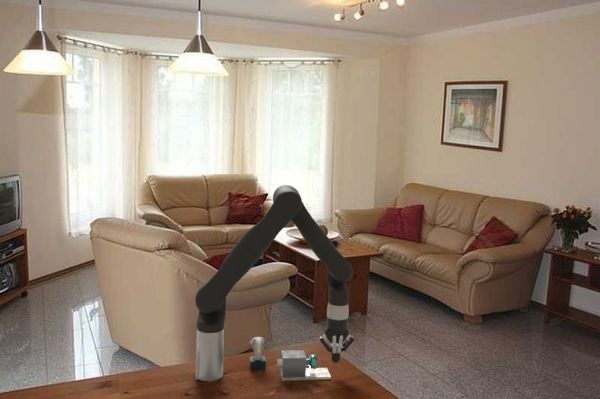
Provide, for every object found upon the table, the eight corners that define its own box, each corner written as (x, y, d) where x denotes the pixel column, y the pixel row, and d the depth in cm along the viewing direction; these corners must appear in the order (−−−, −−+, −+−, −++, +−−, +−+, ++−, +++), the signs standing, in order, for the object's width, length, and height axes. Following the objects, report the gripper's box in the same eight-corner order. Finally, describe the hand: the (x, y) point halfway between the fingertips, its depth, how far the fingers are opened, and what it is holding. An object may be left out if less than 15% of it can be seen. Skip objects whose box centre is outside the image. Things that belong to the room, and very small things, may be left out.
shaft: (278, 372, 191) (278, 358, 190) (276, 366, 196) (277, 352, 195) (316, 371, 193) (317, 358, 192) (314, 365, 198) (314, 352, 197)
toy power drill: (264, 362, 204) (265, 333, 203) (265, 371, 197) (267, 342, 195) (249, 362, 204) (249, 333, 202) (250, 372, 196) (251, 342, 194)
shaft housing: (282, 380, 190) (283, 358, 189) (280, 371, 197) (281, 350, 196) (330, 379, 193) (331, 357, 192) (327, 370, 200) (328, 349, 199)
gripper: (321, 319, 189) (318, 367, 191) (358, 318, 191) (356, 366, 193) (317, 311, 196) (315, 358, 199) (353, 311, 198) (351, 357, 200)
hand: (335, 362), depth 196 cm, fingers closed
